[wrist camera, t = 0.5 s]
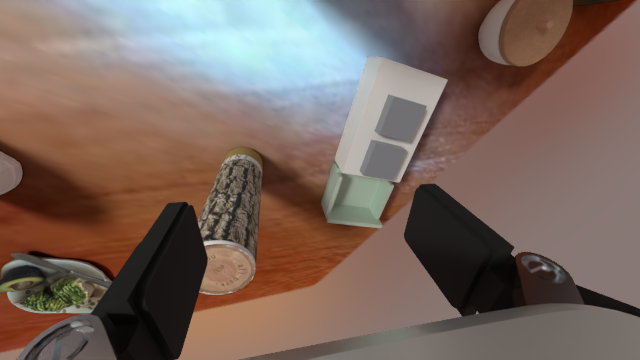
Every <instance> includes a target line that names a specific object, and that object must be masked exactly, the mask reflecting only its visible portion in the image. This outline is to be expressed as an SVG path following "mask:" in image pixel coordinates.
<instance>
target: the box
mask: <svg viewBox="0 0 640 360" xmlns="http://www.w3.org/2000/svg"><path fill="white" fill-rule="evenodd" d="M393 188H394V185H393V184H392V183H391V182H390V181H387V180H381V179H375V178H369V177H364V176H358V175H352V174H346V173H342V171H341V170H340V168H339V166H338V165H337V163H336V162H334V163H333V166H332V169H331V172H330V175H329V178H328V181H327V185H326V188H325V191H324V194H323V197H322V200H321V205H322V208H323V211H324V214H325V217H326V220H327V223H335V224H345V225H354V226H364V227H374V228H382V226H383V225H382V224H381V222H380V220H379V218H380V216H381V213H382V211H383V209H384V207H385V205H386V203H387V201H388V198H389V196H390V194H391V192H392V190H393Z"/></svg>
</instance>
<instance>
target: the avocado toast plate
mask: <svg viewBox="0 0 640 360" xmlns="http://www.w3.org/2000/svg"><path fill="white" fill-rule="evenodd" d="M11 255H12V257H15V259H13V260H11V261H10V262H8V263H6V264H5V265H4V266H3V268H2V271H1V276H2V279H1V280H0V292H3V293H7V295H8V298H9V300H10V301H11V303H12V304H14V305H15V306H17V307H19V308H21V309H23V310H27V311H29V312H35V313H91V312H92V311H93V310H94V308H95V307H96V305H97V304H98V302H99V301H100V299H101V298H102V296H103V295H104V294H105V292H106V291H107V289H108V288H109V286H110V285H111V283H112V282H113V281H111V280H110V279H109V278H108V277H107V276H106V275H105V274H104V273H103V272H102V271H101V270H100V269H98V268H96V267H95V266H93V265H92V264H90V263H87V262H83V261H79V260H71V259H61V258H53V257H44V256H35V255H29V254H23V253H12V254H11ZM92 293H93V294H94V296H93V297H91V298H90V299H89V297H90V296H91V295H92Z"/></svg>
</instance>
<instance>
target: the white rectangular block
mask: <svg viewBox="0 0 640 360" xmlns="http://www.w3.org/2000/svg"><path fill="white" fill-rule="evenodd" d="M447 81H448V80H447V79H444V78H441V77H439V76H436V75H433V74H430V73H427V72H424V71H421V70H418V69H415V68H413V67H410V66H407V65H404V64H401V63H398V62H395V61H392V60H389V59H387V58H384V57H367V60H366V63H365V66H364V69H363V72H362V75H361V79H360V82H359V85H358V88H357V91H356V94H355V97H354V100H353V104H352V107H351V110H350V113H349V116H348V119H347V122H346V125H345V128H344V132H343V135H342V138H341V141H340V144H339V147H338V150H337V153H336V157H335V161H336V163H337V165H338V166H339V168H340V170H341V171H342V173H346V174H352V175H358V176H363V175H362V173H361V172H360V171H359V170H360V168H361V165H362V163H363V160H364V157H365V155H366V152H367V149H368V147H369V144H370V141H371V139H372V140H376V141H380V142H385V143H389V144H394V145H398V146H402V147H403V148H404V149H406V150H407V151H406V153H405V155H404V158H403V160H402V162H401V164H400V166H399V168H398V171H397V173H396V175H395V177H394V179H393V182H398V183H399V182H400V180H401V178H402V176H403V174H404V172H405V170H406V168H407V165H408V163H409V161H410V159H411V157H412V155H413V153H414V151H415V149H416V146H417V144H418V142H419V140H420V138H421V136H422V134H423V132H424V130H425V127H426V125H427V123H428V121H429V119H430V117H431V115H432V113H433V111H434V108H435V106H436V104H437V102H438V100H439V98H440V96H441V94H442V92H443V89H444V87H445V85H446V83H447ZM388 94H389V95H393V96H396V97H399V98H403V99H406V100H409V101H413V102H416V103H420V104H423V105H425V106H427V107H426V109H425V112H424V114H423V116H422V118H421V120H420V123H419V125H418V127H417V129H416V131H415V134H414V136H413V138H412V140H411V142H409V141H404V140H400V139H396V138H392V137H387V136H383V135H379V134H378V133H376V132H375V128H376V126H377V123H378V120H379V118H380V115H381V112H382V110H383V107H384V104H385V102H386V99H387V97H388ZM364 177H368V176H364ZM369 178H374V177H369ZM375 179H379V178H375ZM381 180H385V179H381ZM387 181H391V180H387Z"/></svg>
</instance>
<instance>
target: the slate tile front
mask: <svg viewBox="0 0 640 360" xmlns="http://www.w3.org/2000/svg"><path fill="white" fill-rule="evenodd" d="M426 107H427V106H425V105H423V104H420V103H416V102H413V101H409V100H406V99H403V98H399V97H396V96H393V95H389V94H388V97H387V99H386V102H385V104H384V107H383V110H382V112H381V115H380V118H379V120H378V123H377V126H376V128H375V132H376V133H378V134H379V135H383V136H387V137H392V138H396V139H400V140H404V141H409V142H411V140H412V138H413V136H414V134H415V131H416V129H417V127H418V125H419V123H420V120H421V118H422V116H423V114H424V112H425V109H426Z"/></svg>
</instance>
